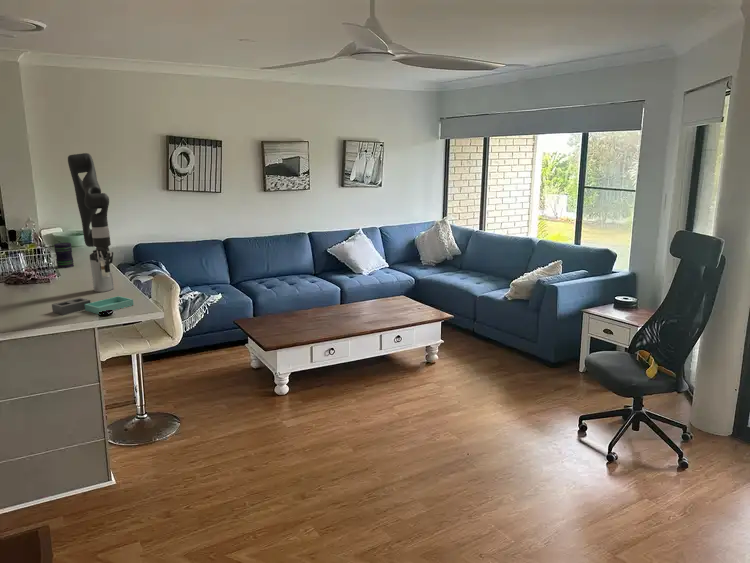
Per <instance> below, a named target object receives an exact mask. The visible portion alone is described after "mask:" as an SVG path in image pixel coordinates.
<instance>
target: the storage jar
mask: <svg viewBox="0 0 750 563" xmlns="http://www.w3.org/2000/svg"><path fill="white" fill-rule="evenodd" d="M53 246H54V254H55V257H56V258H55V261H56V262H55V263H56V266H57V267H56V268H57V269H68V268H70V269H71V268H73V267H74V266H75V265H74V257H73V250H72V249H73V248H72V242H58V243H57V242H56V243H55V244H53Z"/></svg>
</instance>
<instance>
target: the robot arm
mask: <svg viewBox="0 0 750 563" xmlns="http://www.w3.org/2000/svg"><path fill="white" fill-rule="evenodd" d="M67 164H68V168H69V171H70V176H71V179H72V183H73V188H74V192H75V197H76V203H77V208H78V211H79V212H78V213H79V216H80V221H81V226H82V227H81V228H82V233H83V239H84V243H85V246H86V247H88V248H91V247H92V248H95V249H94V250H92V253H90V254H89V263H90V270H91V277H92V279H91V280H92V286H93V292H94V293H95V292H96V293H102V292H109V291H112V290H114V289H115V286H114V285H115V284H114V276H113V271H111V265H110V264H113V261H114V260H113V259H114V251H110V248H109V247H110V246H111V237H110V236H111V235H110V230H109V224H108V222H109V221H108V212H109V211H108V210H109V206H110V197H109V196H108V194H107V193H104V192H102V189H101V186H100V184H99V182H98V176H97V171H96V167H95V164H94V159H93V157H92V155H91V154H90V153H87V152H85V153H84V152H83V153H77V154H76V153H75V154H74V153H73V154H69V155H68V156H67ZM83 173H86V174H85V175H84V177H83V178H81V177H80V176H79V174H83ZM98 209H100V211H99V212H98ZM90 225H91V226H90ZM90 227H91V228H90ZM100 257H102V260H103V261H104V267H105V272H106V273H108V272H109V275H110V278H107V279H102V271H101V263H100ZM105 257H107V258H105Z"/></svg>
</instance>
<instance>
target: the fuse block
mask: <svg viewBox="0 0 750 563" xmlns="http://www.w3.org/2000/svg"><path fill="white" fill-rule="evenodd" d="M88 303H92V302H91V300H90V299H88V298H83V297H77V298H73V299H68V300H64V301H59V302H55V303H51V310H52V313H53V314H58V315H61V316H65V315H69V314H74V313H78V312H81V311H85V305H84V304H88Z"/></svg>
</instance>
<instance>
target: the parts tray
mask: <svg viewBox="0 0 750 563" xmlns="http://www.w3.org/2000/svg"><path fill="white" fill-rule="evenodd" d="M84 305H85V310H84V311H85V312H90V313H92V314H97V315H100V314H99V312H102V311H106V310H114V311H117V310H116V309H118V310H121V309H120V308H122V309H125V308H124V307H126V308H129V307H128V306H130V307H133V306H132V305H134V299H133V298H128V297H125V296H119V295H117V296H114V297H108V298H105V299H101V300H96V301H92V302H91V303H88V304H84Z"/></svg>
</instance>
